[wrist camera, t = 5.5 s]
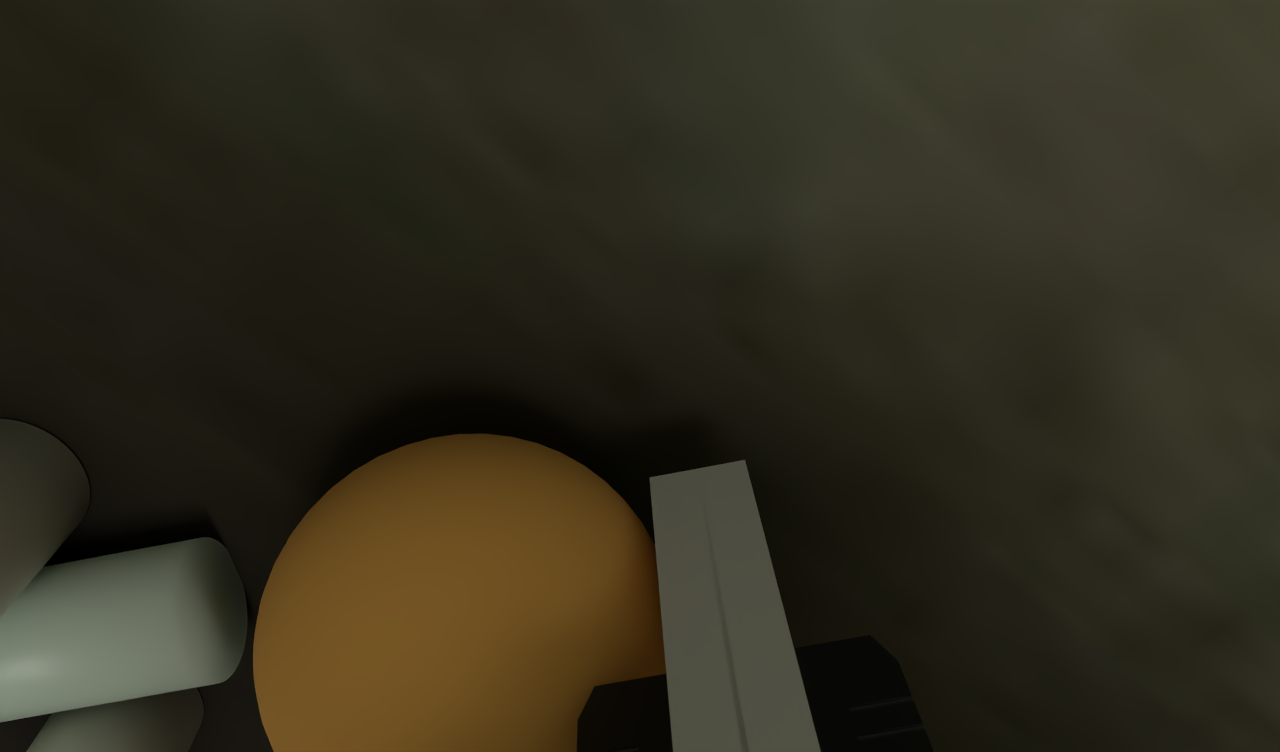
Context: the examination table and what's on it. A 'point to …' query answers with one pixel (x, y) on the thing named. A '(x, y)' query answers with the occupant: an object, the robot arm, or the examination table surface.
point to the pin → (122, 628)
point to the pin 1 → (35, 503)
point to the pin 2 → (126, 725)
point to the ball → (455, 604)
